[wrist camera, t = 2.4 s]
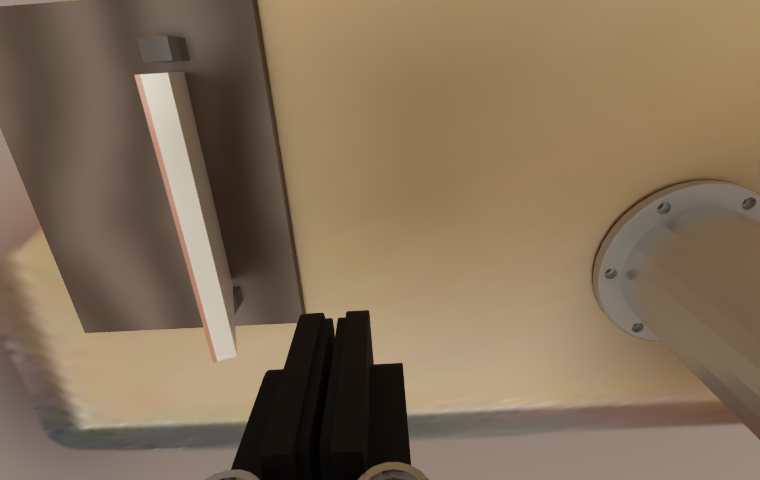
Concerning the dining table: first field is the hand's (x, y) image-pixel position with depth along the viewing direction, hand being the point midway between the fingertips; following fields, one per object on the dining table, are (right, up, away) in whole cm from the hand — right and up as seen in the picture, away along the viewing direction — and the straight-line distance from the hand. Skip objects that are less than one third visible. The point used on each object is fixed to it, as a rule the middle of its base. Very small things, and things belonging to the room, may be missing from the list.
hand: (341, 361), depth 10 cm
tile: (-9, +5, +13) cm, 16 cm away
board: (-14, +7, +18) cm, 24 cm away
